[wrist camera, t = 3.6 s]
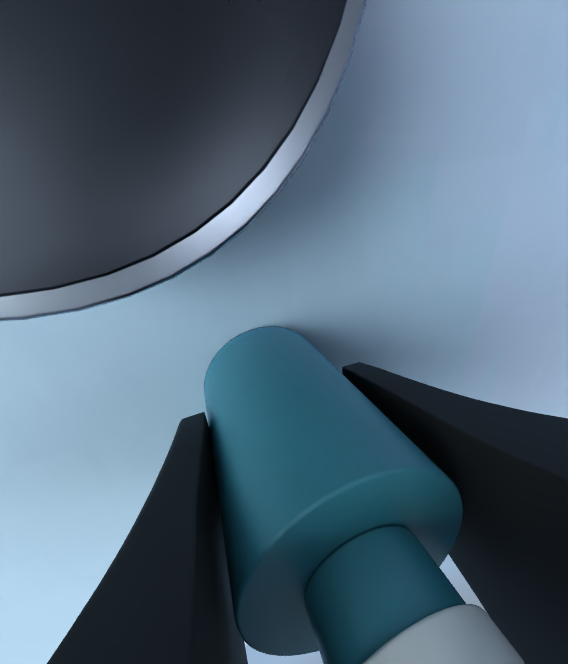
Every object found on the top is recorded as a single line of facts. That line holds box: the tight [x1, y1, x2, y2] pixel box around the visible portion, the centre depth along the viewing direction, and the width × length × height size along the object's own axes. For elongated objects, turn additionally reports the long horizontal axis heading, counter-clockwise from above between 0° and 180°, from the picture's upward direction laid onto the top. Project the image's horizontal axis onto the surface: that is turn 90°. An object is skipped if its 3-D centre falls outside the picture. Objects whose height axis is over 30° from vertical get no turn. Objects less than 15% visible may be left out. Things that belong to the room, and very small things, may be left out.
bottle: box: [204, 327, 525, 664], centre depth 7 cm, size 4×4×8 cm
